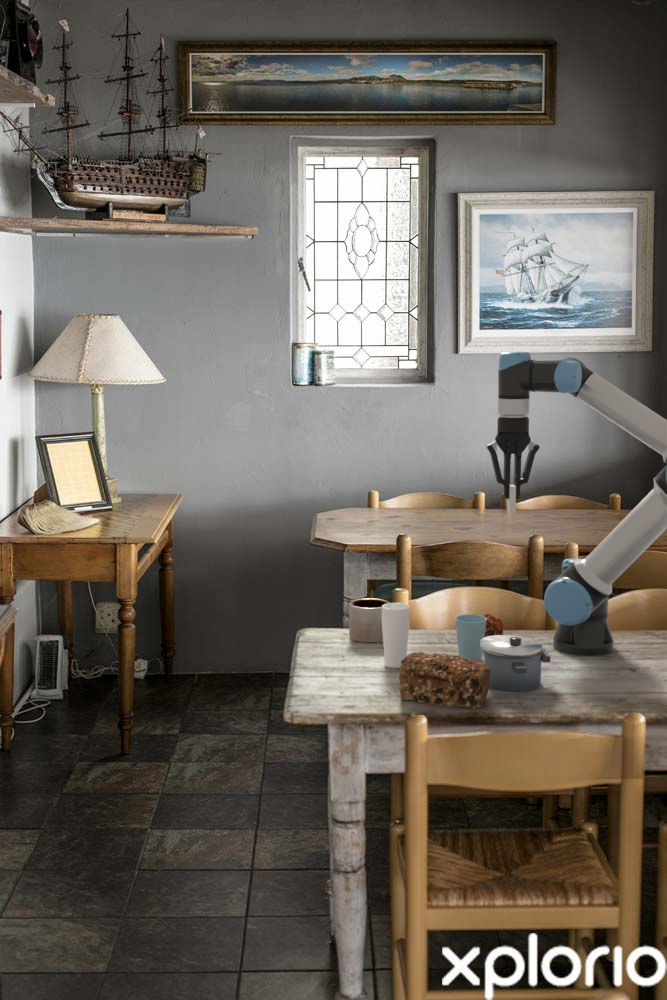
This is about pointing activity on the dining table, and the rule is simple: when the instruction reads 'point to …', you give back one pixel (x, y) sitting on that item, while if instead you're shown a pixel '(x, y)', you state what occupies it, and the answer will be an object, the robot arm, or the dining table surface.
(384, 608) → the drinking glass
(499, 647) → the lid
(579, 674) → the dining table surface
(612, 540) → the robot arm
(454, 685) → the bread
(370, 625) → the planter
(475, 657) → the cup
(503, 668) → the pot
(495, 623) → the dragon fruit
